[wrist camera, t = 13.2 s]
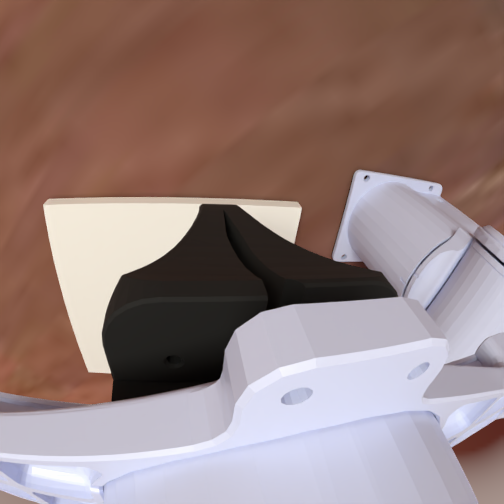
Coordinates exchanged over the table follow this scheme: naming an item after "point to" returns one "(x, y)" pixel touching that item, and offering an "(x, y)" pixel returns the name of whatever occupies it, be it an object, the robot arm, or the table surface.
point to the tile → (127, 248)
